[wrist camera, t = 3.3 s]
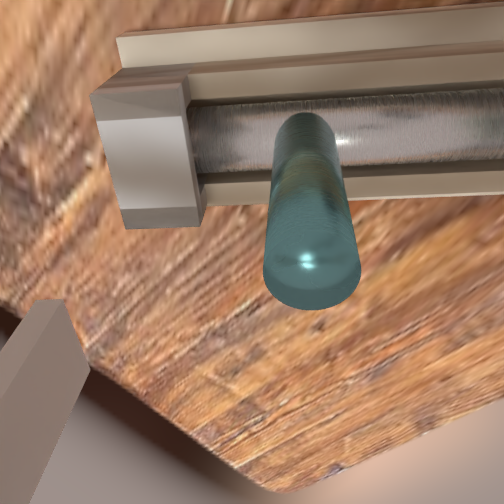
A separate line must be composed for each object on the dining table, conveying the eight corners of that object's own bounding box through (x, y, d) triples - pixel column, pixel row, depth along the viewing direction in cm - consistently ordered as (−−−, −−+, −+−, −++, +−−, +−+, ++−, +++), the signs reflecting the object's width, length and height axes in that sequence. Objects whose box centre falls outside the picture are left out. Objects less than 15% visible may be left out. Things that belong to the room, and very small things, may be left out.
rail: (124, 32, 26) (79, 59, 20) (683, -14, 23) (803, 3, 17) (159, 197, 31) (132, 253, 26) (612, 177, 28) (688, 235, 23)
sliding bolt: (146, 102, 26) (32, 235, 15) (533, 77, 24) (752, 210, 12) (158, 160, 28) (65, 318, 16) (518, 142, 26) (695, 308, 14)
